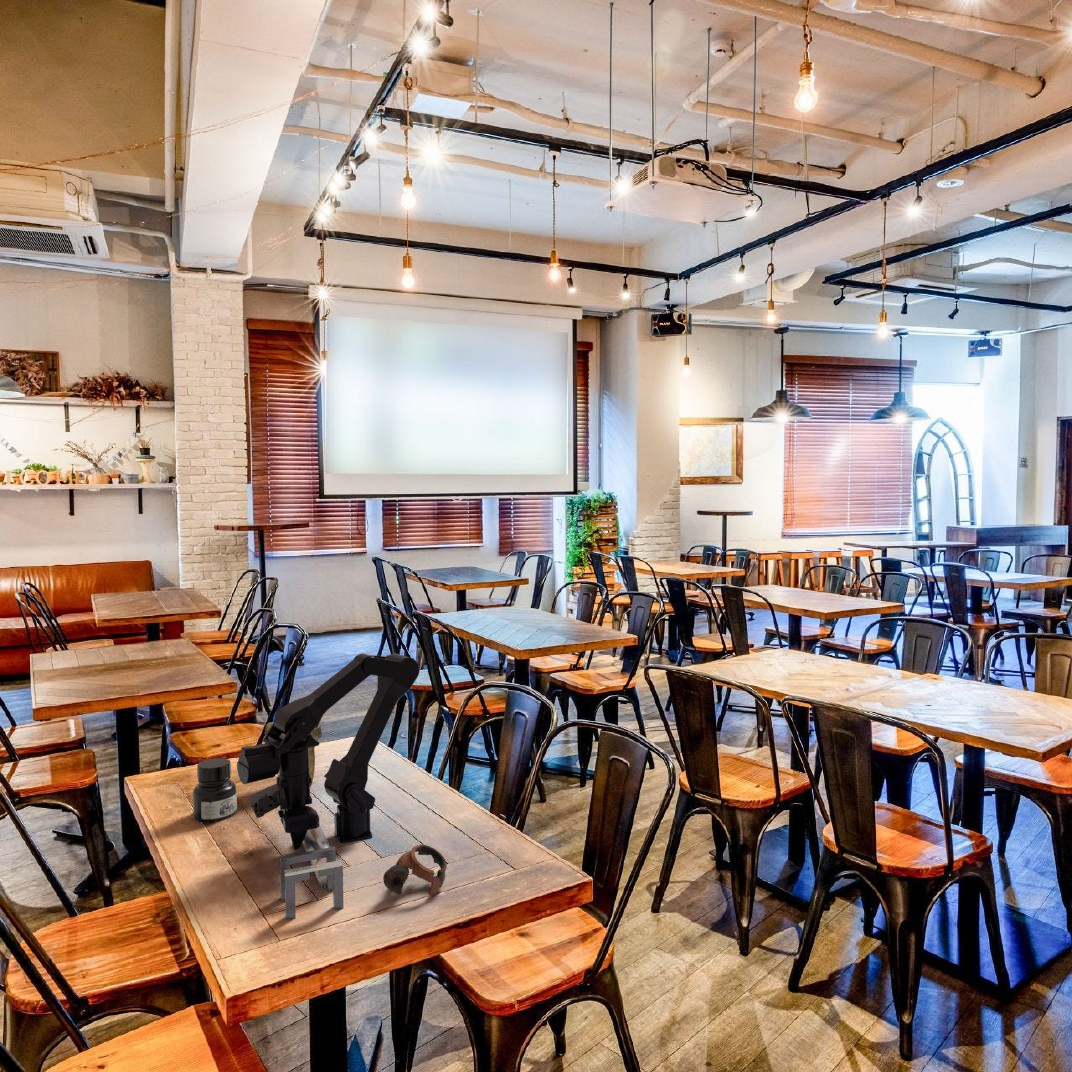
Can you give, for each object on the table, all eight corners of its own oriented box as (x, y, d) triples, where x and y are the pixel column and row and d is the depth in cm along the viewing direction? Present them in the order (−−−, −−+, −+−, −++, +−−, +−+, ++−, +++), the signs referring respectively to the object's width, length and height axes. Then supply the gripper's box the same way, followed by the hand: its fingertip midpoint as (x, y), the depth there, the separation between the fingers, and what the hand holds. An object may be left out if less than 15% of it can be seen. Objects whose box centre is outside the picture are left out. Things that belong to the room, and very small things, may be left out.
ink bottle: (205, 828, 171) (204, 773, 171) (183, 819, 177) (182, 765, 176) (246, 814, 179) (245, 761, 178) (224, 805, 184) (222, 753, 184)
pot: (285, 805, 184) (283, 727, 183) (251, 796, 190) (249, 721, 189) (339, 781, 199) (337, 709, 198) (305, 774, 204) (304, 704, 203)
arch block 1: (335, 888, 145) (334, 846, 145) (336, 891, 144) (335, 849, 144) (281, 899, 141) (279, 856, 141) (281, 902, 140) (280, 859, 140)
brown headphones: (411, 871, 151) (431, 836, 150) (440, 909, 146) (461, 872, 145) (363, 882, 142) (383, 845, 141) (392, 923, 136) (414, 884, 135)
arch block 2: (342, 906, 139) (341, 860, 138) (343, 909, 138) (342, 862, 137) (285, 918, 135) (284, 870, 135) (286, 921, 134) (285, 873, 133)
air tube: (296, 824, 163) (318, 816, 165) (301, 845, 164) (323, 837, 166) (315, 870, 144) (340, 860, 145) (321, 893, 144) (345, 883, 146)
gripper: (246, 763, 163) (249, 838, 164) (256, 794, 146) (258, 878, 147) (303, 755, 168) (305, 828, 169) (318, 784, 151) (320, 865, 152)
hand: (296, 849), depth 159 cm, fingers closed
